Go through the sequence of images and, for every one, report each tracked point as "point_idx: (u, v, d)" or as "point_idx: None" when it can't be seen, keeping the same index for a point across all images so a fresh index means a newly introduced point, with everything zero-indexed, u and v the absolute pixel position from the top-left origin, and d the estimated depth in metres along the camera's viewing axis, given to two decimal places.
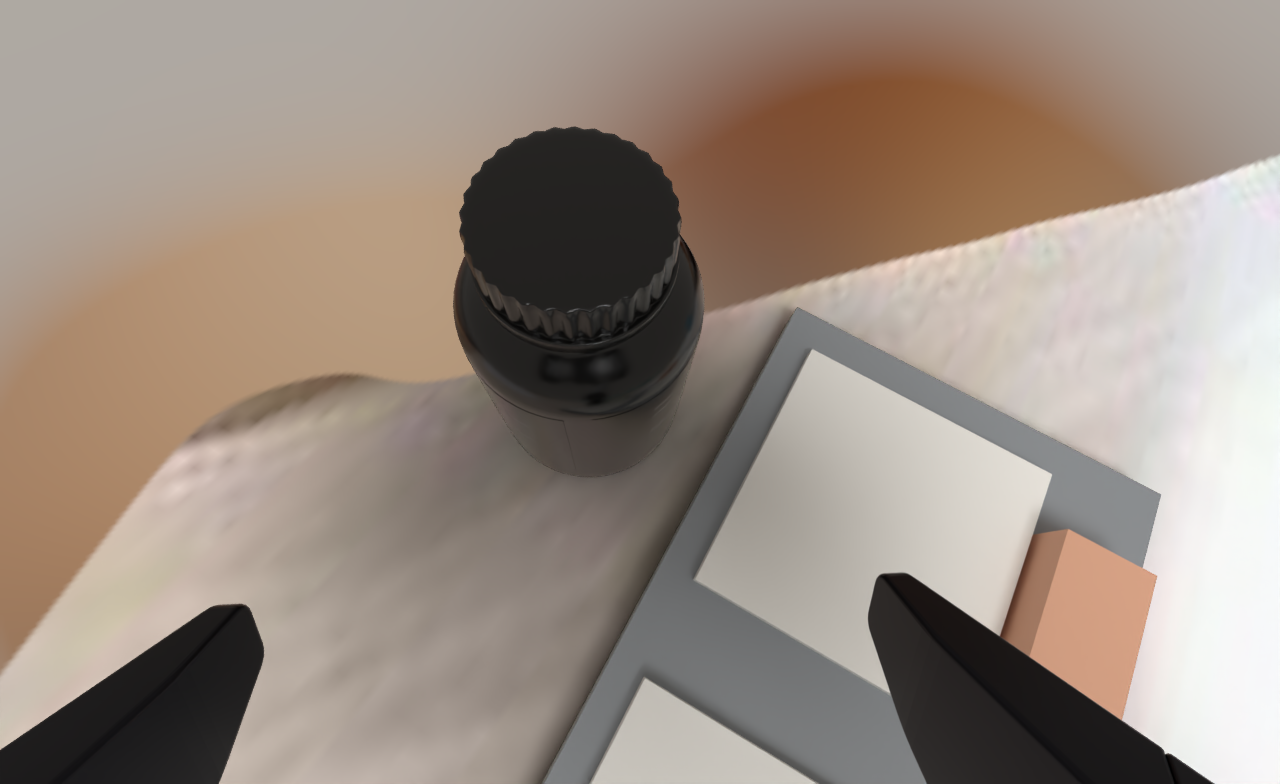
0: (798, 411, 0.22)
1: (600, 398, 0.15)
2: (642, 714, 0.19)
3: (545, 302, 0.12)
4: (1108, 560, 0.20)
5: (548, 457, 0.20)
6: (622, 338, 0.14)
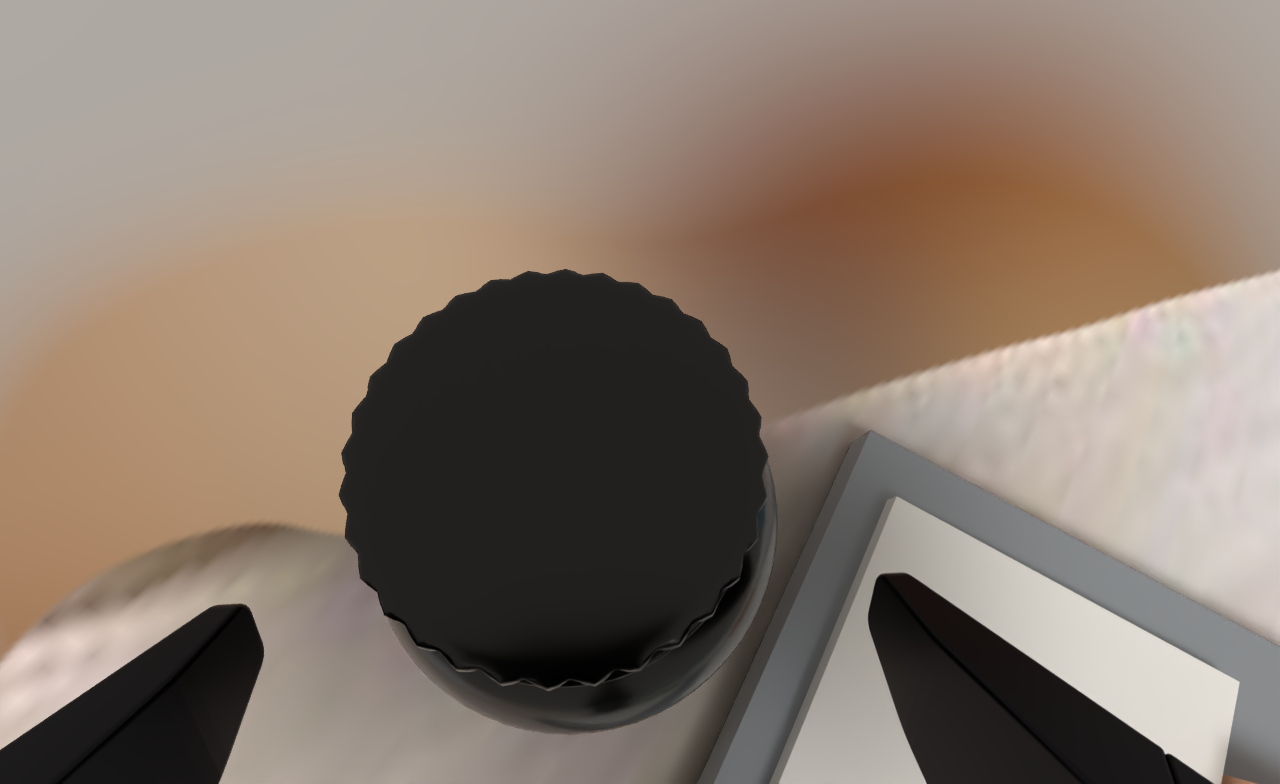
0: None
1: (611, 717, 0.09)
2: None
3: (503, 663, 0.06)
4: None
5: None
6: (653, 661, 0.07)
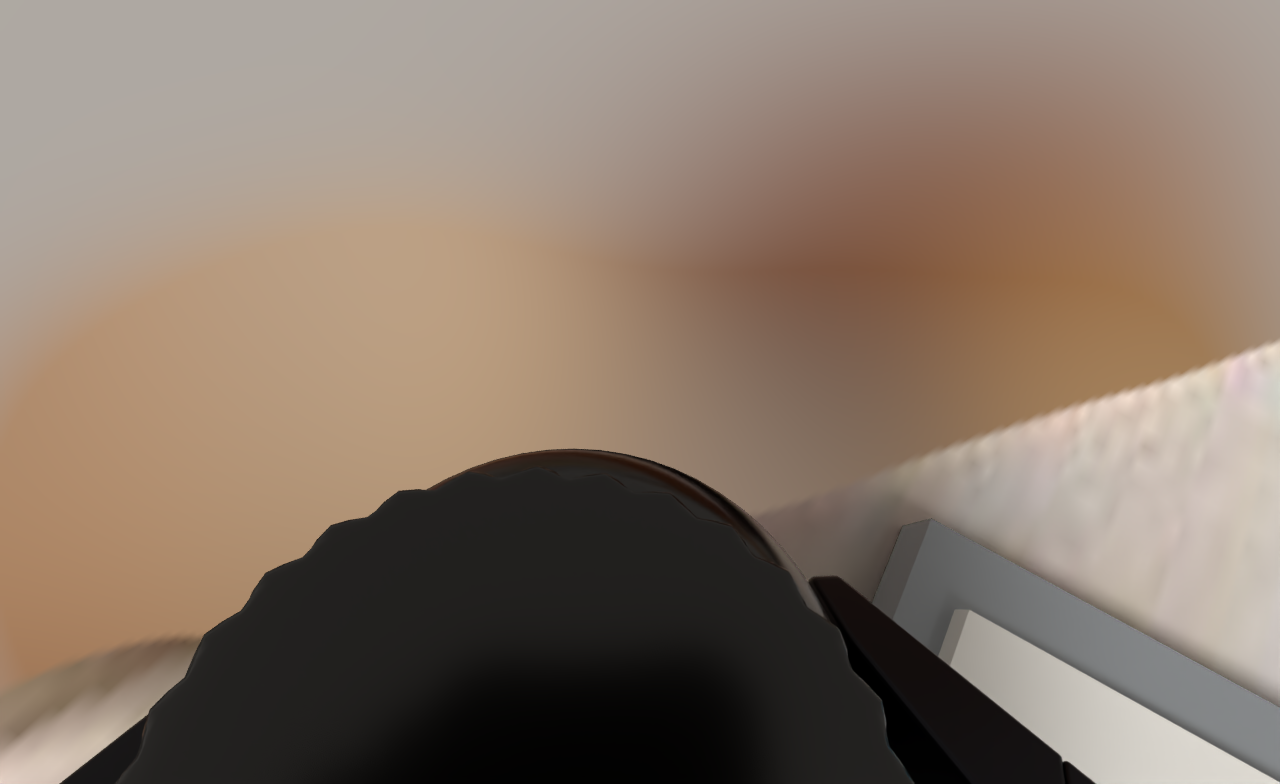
0: None
1: None
2: None
3: None
4: None
5: None
6: None
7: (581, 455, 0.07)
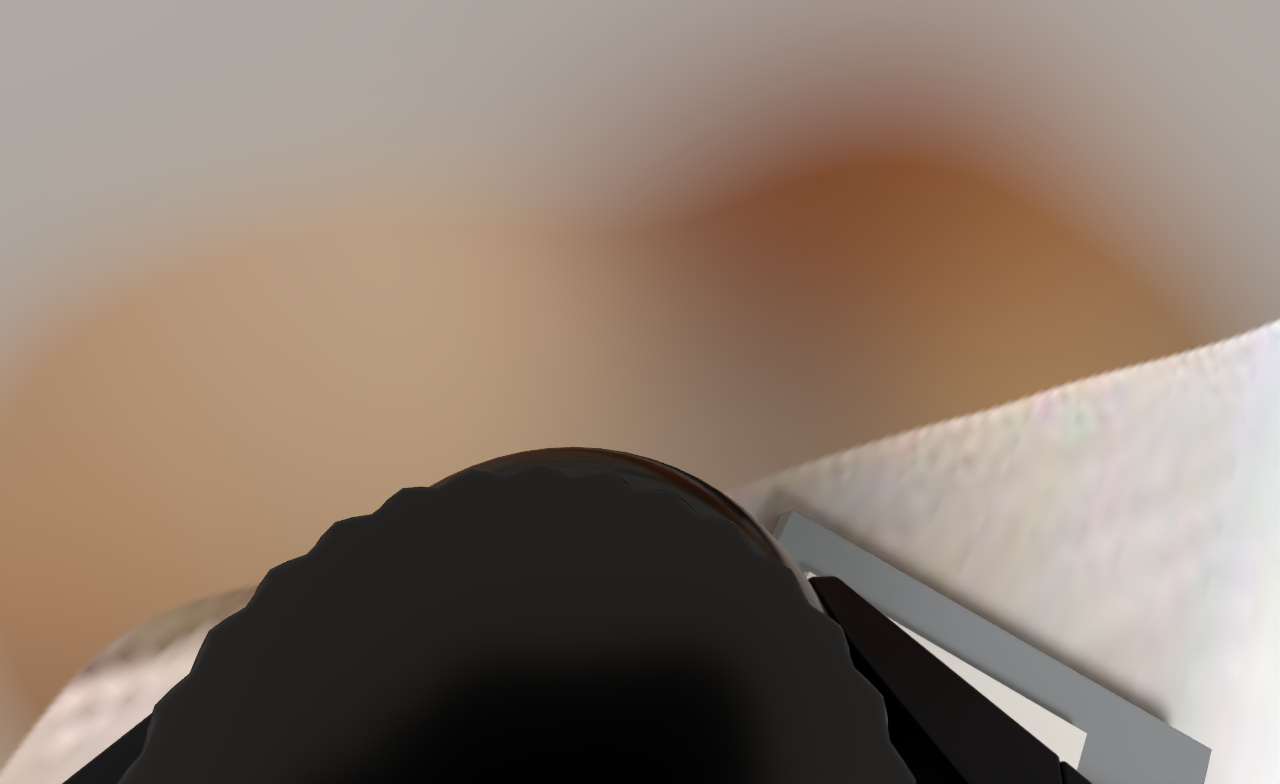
0: None
1: None
2: None
3: None
4: None
5: None
6: None
7: (582, 453, 0.07)
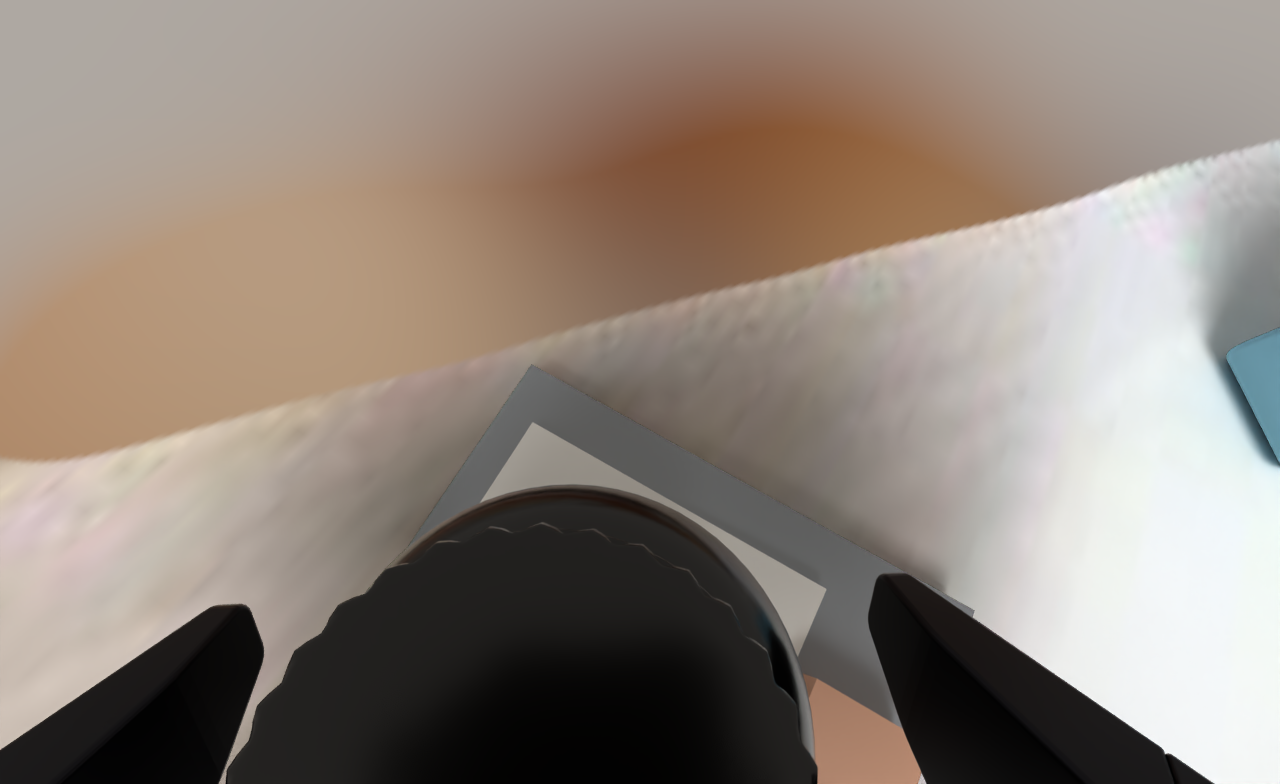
0: None
1: None
2: None
3: None
4: (866, 723, 0.15)
5: None
6: None
7: (578, 492, 0.09)
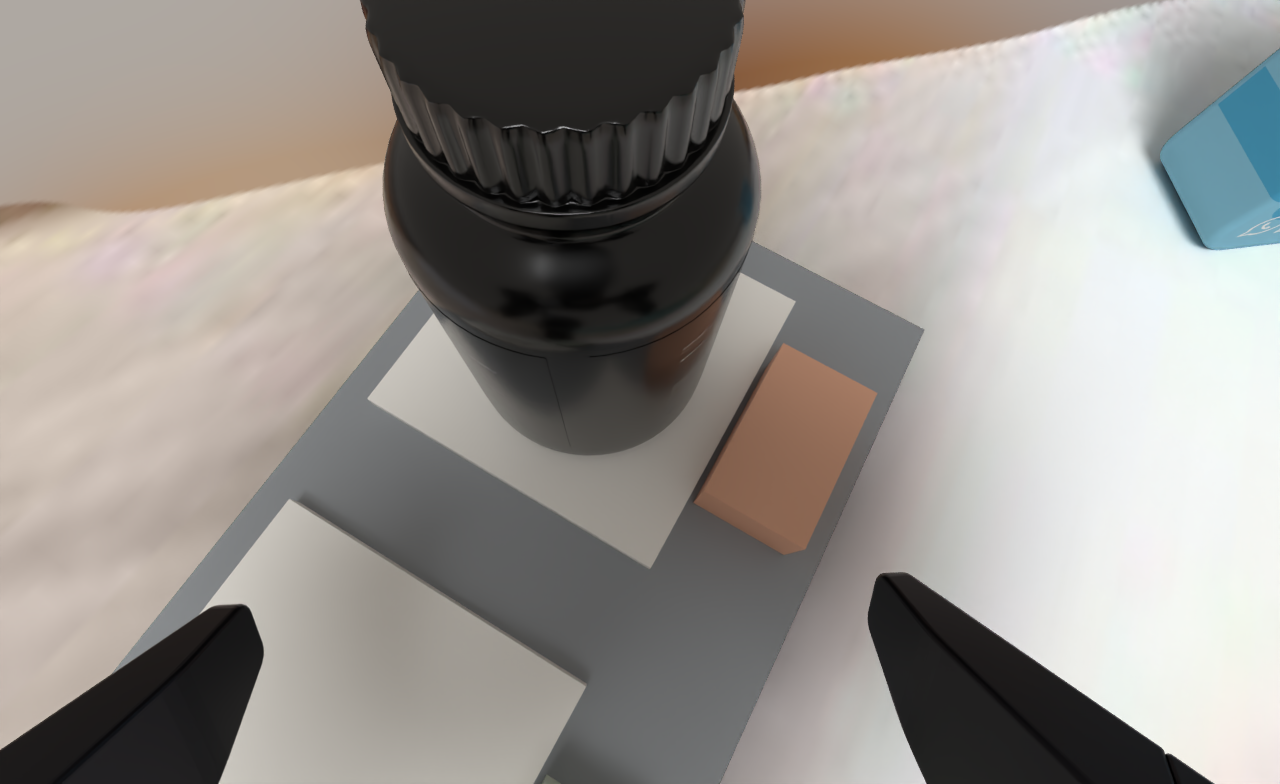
0: None
1: (603, 318, 0.09)
2: (278, 536, 0.17)
3: (505, 114, 0.07)
4: (824, 376, 0.17)
5: (531, 425, 0.15)
6: (640, 207, 0.08)
7: None
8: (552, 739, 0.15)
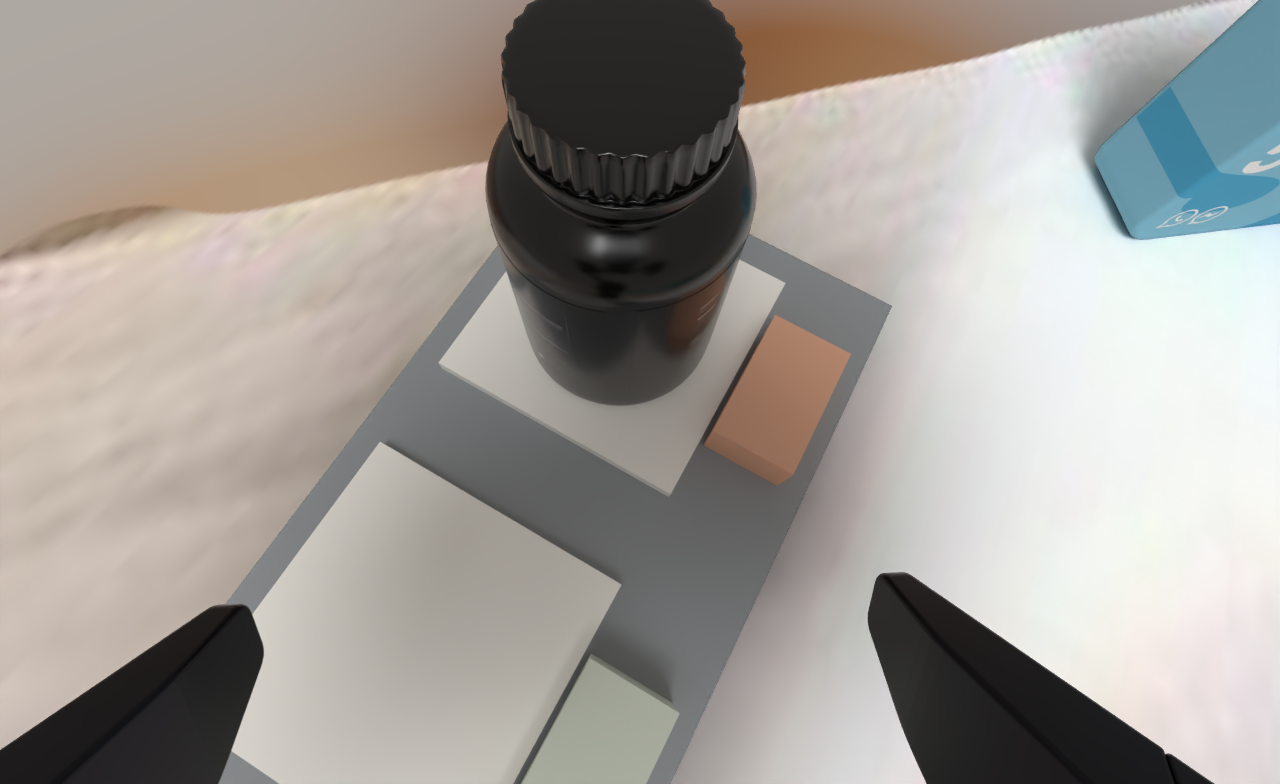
0: None
1: (648, 281, 0.14)
2: (373, 470, 0.21)
3: (599, 146, 0.11)
4: (808, 340, 0.22)
5: (578, 377, 0.19)
6: (677, 204, 0.12)
7: None
8: (596, 623, 0.19)
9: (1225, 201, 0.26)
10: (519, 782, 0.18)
